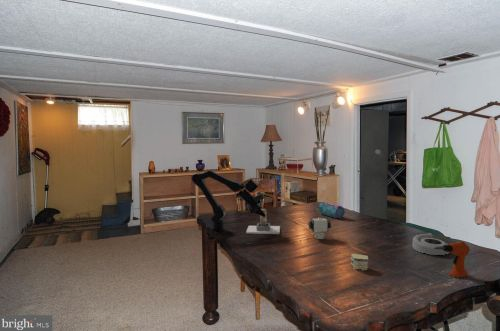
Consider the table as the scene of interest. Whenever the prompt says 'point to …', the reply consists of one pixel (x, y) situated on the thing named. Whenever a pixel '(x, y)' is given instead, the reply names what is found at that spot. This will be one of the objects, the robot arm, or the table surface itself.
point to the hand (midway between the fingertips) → (265, 215)
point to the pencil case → (331, 210)
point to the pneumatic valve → (319, 227)
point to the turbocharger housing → (428, 244)
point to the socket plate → (263, 229)
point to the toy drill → (457, 257)
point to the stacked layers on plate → (359, 261)
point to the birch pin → (263, 218)
